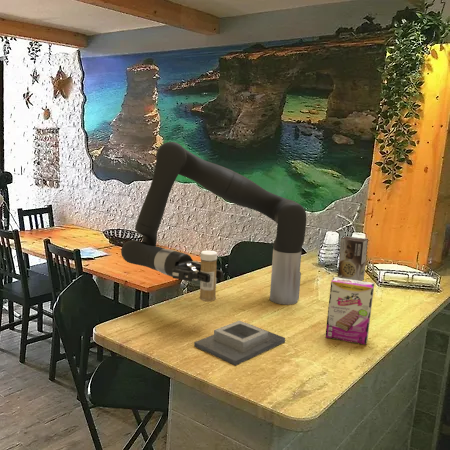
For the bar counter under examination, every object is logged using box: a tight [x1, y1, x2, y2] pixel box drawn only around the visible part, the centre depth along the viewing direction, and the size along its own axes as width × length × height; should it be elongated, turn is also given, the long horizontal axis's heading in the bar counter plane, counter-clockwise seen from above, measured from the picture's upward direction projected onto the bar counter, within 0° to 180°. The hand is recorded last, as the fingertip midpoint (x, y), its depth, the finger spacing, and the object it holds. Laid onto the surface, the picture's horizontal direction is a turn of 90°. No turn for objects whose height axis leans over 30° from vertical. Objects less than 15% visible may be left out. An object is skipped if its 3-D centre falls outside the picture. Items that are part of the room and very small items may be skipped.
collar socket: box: [193, 320, 286, 366], centre depth 128 cm, size 20×14×4 cm
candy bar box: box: [324, 276, 375, 346], centre depth 134 cm, size 11×5×16 cm, turn 70°
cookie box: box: [337, 235, 369, 281], centre depth 191 cm, size 9×6×16 cm
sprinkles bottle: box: [199, 249, 218, 303], centre depth 134 cm, size 5×5×13 cm
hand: (215, 277), depth 132 cm, fingers closed on sprinkles bottle, 4 cm apart
